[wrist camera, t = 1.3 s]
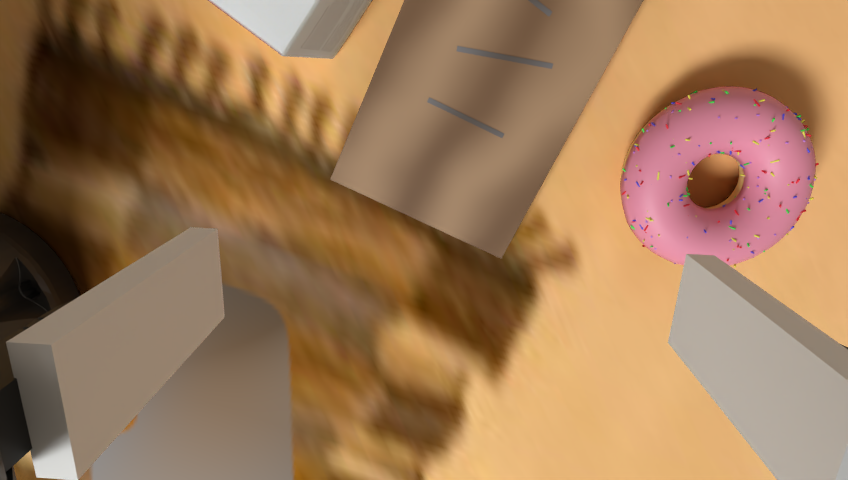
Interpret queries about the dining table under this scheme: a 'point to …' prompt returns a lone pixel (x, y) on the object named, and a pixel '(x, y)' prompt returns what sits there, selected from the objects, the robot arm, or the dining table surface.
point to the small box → (298, 23)
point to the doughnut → (757, 185)
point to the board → (477, 108)
